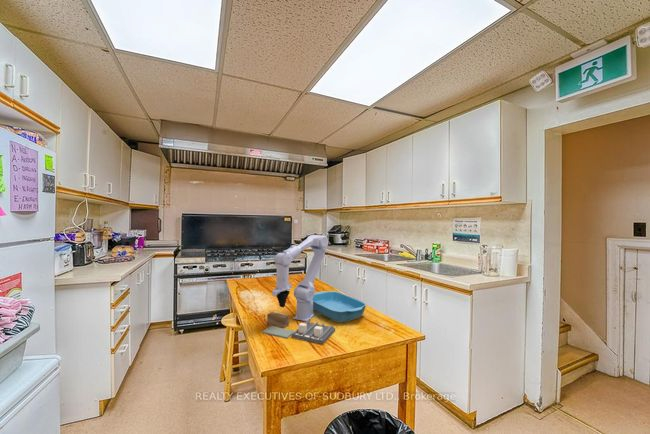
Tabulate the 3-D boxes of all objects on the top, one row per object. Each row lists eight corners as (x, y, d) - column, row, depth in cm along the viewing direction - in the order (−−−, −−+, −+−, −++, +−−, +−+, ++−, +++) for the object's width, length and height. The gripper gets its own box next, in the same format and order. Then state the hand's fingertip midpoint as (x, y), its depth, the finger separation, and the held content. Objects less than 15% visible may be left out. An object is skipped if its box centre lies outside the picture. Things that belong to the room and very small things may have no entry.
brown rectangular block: (271, 321, 132) (271, 311, 131) (288, 325, 127) (288, 315, 127) (267, 324, 128) (267, 314, 128) (284, 328, 124) (284, 317, 124)
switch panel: (306, 325, 128) (306, 319, 128) (335, 330, 122) (335, 325, 122) (291, 337, 115) (291, 331, 115) (322, 344, 109) (322, 338, 109)
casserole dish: (301, 306, 155) (301, 294, 155) (332, 299, 167) (332, 288, 167) (340, 329, 124) (340, 314, 124) (374, 319, 137) (374, 305, 137)
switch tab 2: (316, 333, 115) (316, 325, 115) (322, 334, 114) (322, 327, 114) (313, 336, 113) (313, 328, 113) (320, 337, 112) (320, 329, 112)
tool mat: (270, 327, 125) (270, 325, 125) (294, 332, 120) (294, 331, 120) (262, 332, 119) (262, 331, 119) (287, 338, 114) (287, 337, 114)
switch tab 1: (301, 330, 119) (301, 322, 119) (307, 331, 117) (307, 323, 117) (298, 332, 116) (298, 324, 116) (304, 333, 115) (304, 326, 115)
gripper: (281, 282, 118) (281, 313, 118) (297, 275, 131) (296, 303, 132) (268, 280, 121) (268, 310, 121) (284, 274, 134) (284, 301, 134)
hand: (282, 306), depth 126 cm, fingers closed
